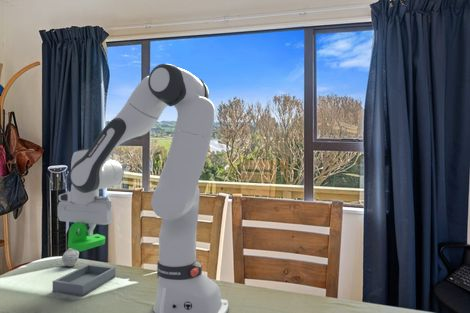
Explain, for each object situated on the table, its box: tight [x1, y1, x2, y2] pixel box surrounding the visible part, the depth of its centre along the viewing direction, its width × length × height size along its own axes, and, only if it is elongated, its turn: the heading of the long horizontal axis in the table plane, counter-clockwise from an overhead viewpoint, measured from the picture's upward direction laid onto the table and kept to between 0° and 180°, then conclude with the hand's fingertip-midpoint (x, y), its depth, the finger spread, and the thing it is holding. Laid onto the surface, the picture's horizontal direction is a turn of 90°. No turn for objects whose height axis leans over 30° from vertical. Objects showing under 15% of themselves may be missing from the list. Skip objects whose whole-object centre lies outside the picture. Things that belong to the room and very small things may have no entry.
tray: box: [52, 263, 116, 297], centre depth 120 cm, size 12×17×4 cm
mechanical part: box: [67, 222, 106, 253], centre depth 118 cm, size 12×6×8 cm, turn 153°
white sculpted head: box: [61, 248, 80, 267], centre depth 137 cm, size 6×7×7 cm
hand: (85, 235), depth 119 cm, fingers closed on mechanical part, 2 cm apart
